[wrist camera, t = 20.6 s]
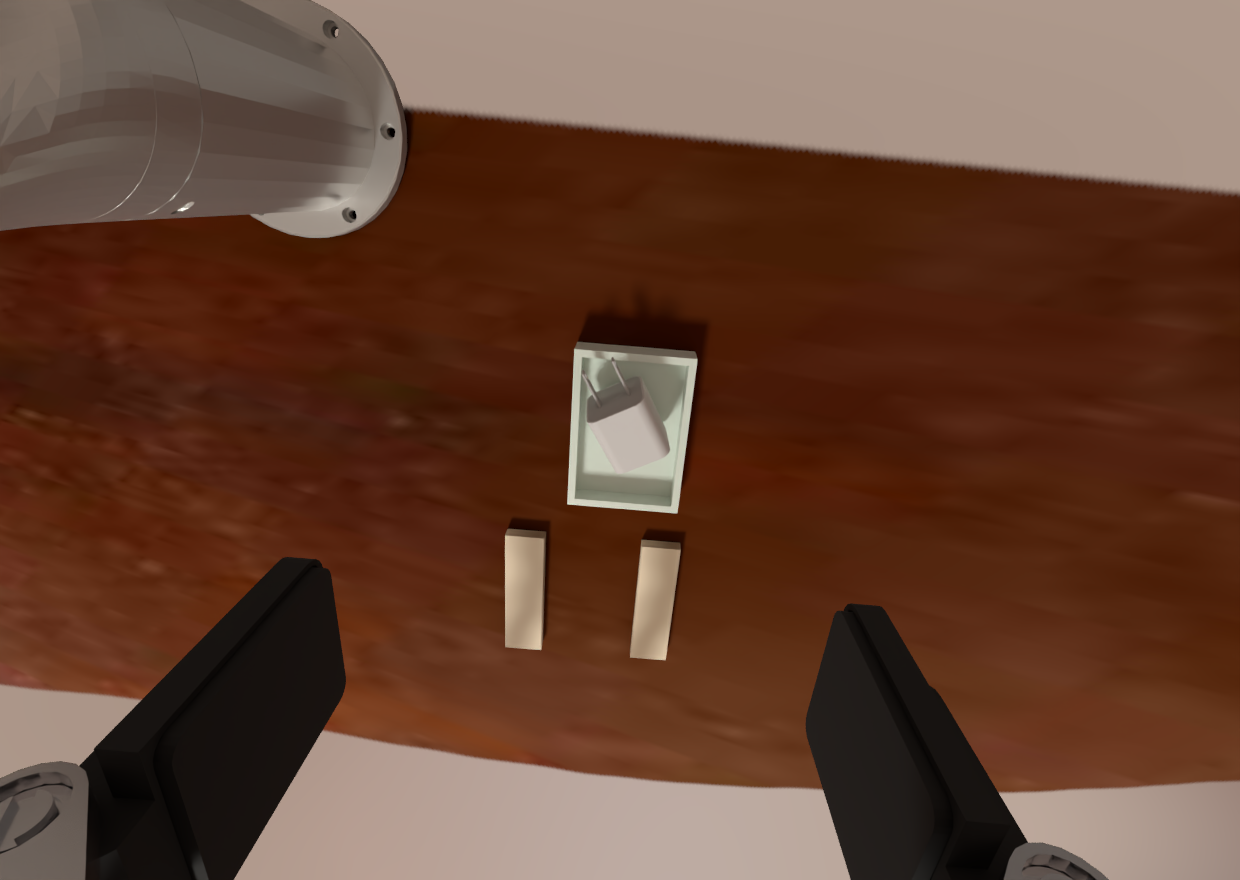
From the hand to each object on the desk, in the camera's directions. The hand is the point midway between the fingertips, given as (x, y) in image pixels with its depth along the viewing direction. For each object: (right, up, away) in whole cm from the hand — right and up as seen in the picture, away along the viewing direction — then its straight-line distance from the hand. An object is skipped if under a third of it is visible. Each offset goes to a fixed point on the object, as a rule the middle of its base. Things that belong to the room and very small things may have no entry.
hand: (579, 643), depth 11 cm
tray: (+1, +5, +31) cm, 31 cm away
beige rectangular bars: (-2, -9, +37) cm, 38 cm away
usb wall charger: (+1, +7, +29) cm, 30 cm away
